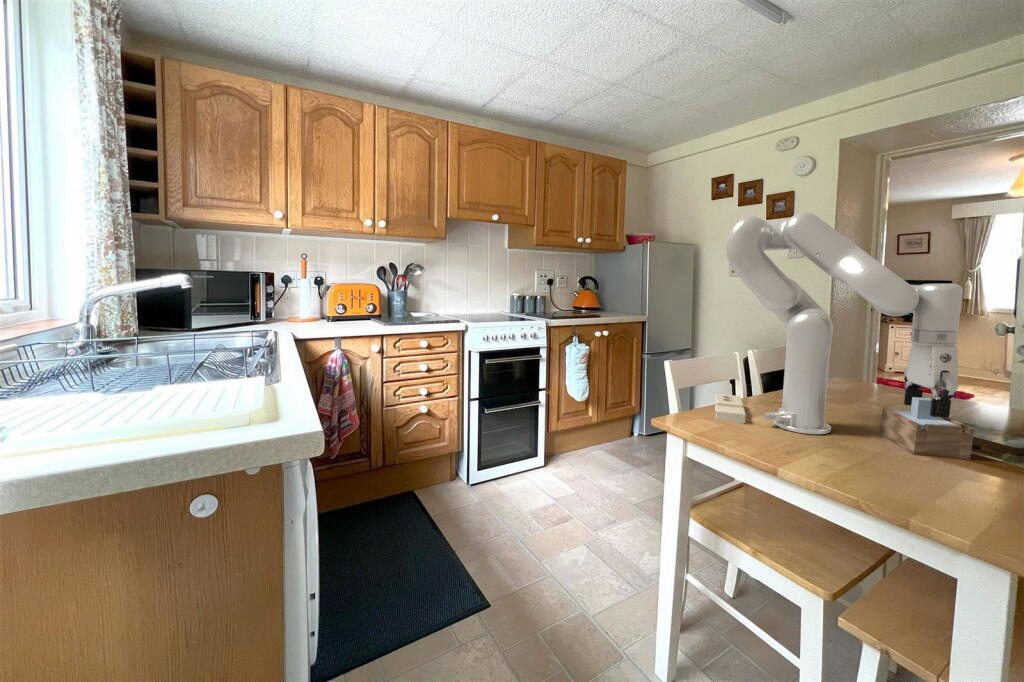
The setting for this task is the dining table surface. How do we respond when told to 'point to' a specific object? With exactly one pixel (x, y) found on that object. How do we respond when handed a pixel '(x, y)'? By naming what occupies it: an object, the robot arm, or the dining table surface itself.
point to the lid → (922, 413)
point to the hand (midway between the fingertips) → (925, 410)
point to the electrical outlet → (729, 408)
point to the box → (928, 436)
